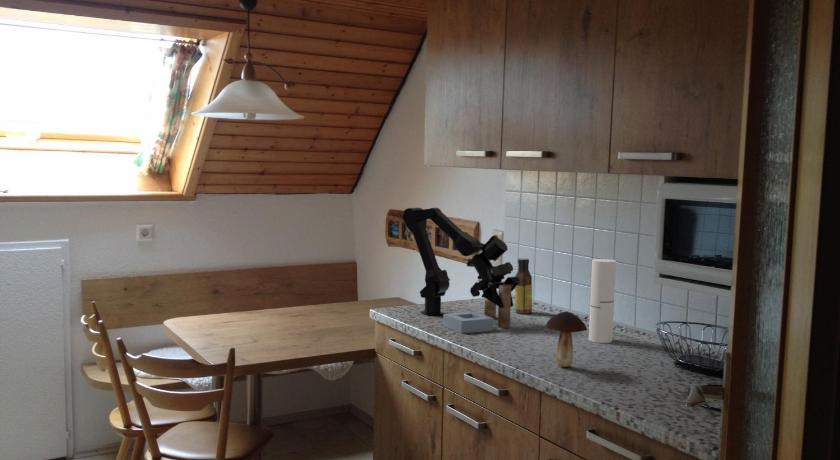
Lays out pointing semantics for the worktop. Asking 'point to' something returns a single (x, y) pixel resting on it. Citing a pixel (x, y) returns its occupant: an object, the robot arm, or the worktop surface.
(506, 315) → the tall walnut pin
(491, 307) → the short walnut pin
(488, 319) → the sleeve block
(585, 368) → the worktop surface
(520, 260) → the sauce bottle
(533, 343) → the worktop surface
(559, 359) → the decorative mushroom
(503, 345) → the worktop surface
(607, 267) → the cylindrical container
